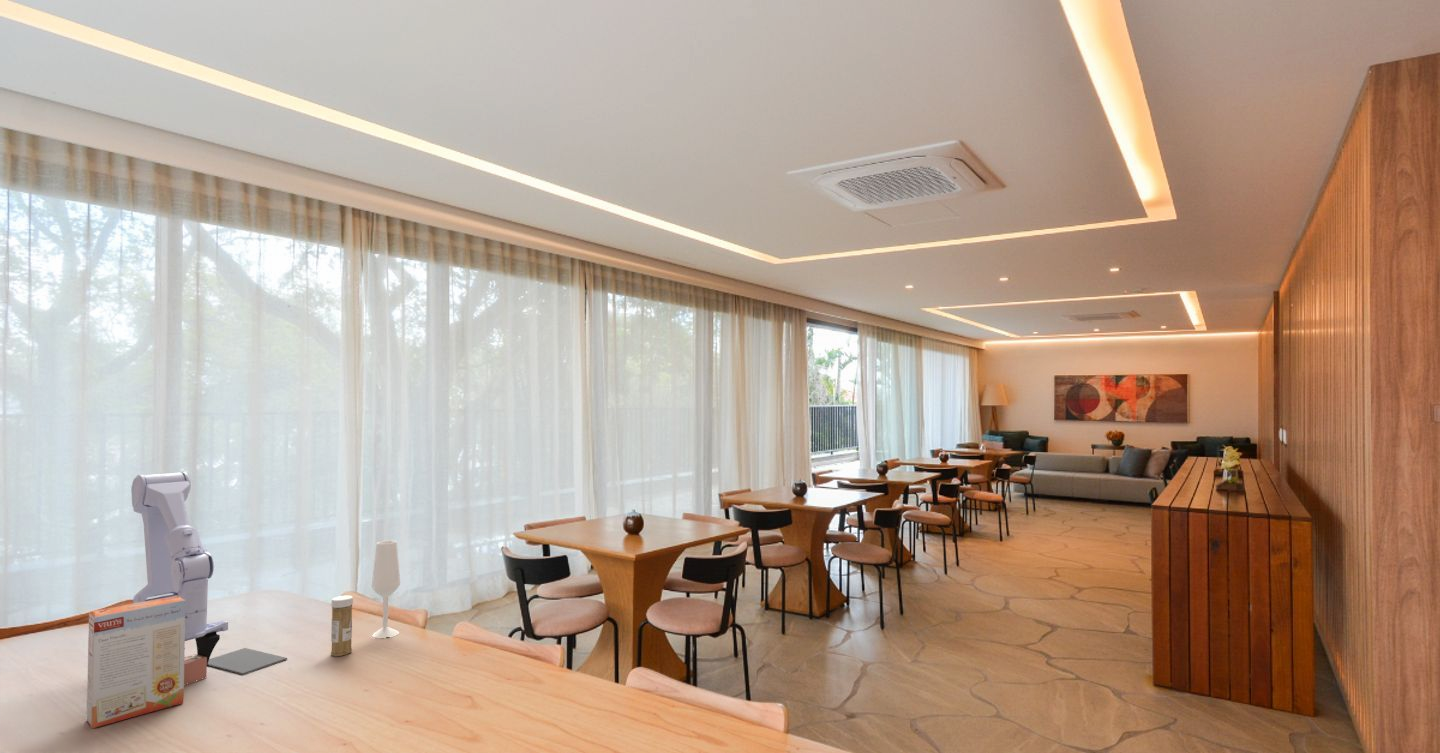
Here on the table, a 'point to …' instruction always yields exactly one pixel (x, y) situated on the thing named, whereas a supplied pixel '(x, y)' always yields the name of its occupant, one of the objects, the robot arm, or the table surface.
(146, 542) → the robot arm
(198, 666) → the lettered cube
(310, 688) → the table surface
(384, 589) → the champagne flute
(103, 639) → the cracker box
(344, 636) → the sprinkles bottle
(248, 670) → the charcoal mat
